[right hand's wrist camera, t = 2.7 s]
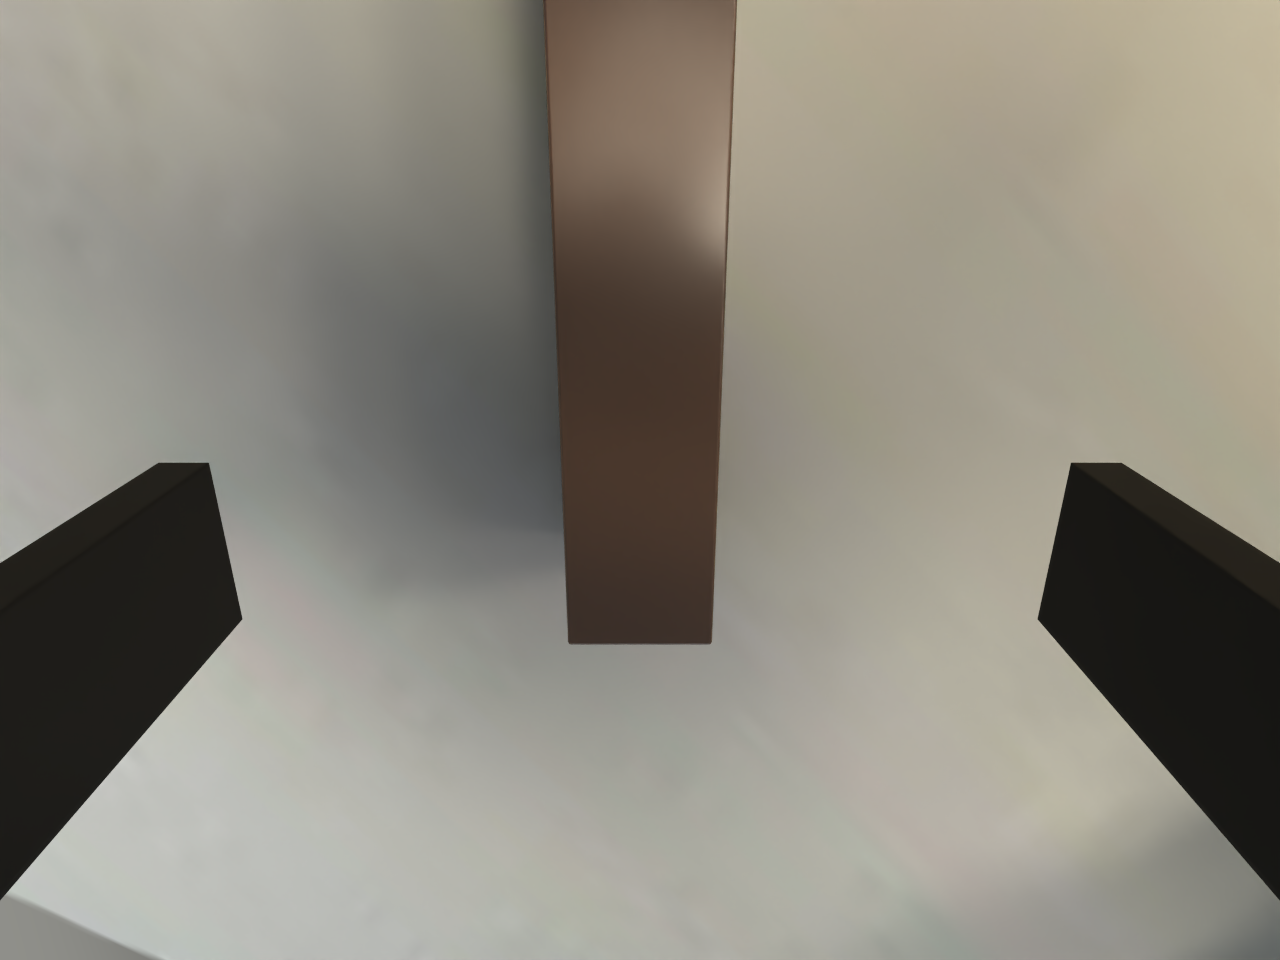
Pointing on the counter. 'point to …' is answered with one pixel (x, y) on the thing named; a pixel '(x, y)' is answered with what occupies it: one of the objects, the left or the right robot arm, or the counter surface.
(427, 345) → the counter surface
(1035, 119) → the counter surface
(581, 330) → the walnut rail
